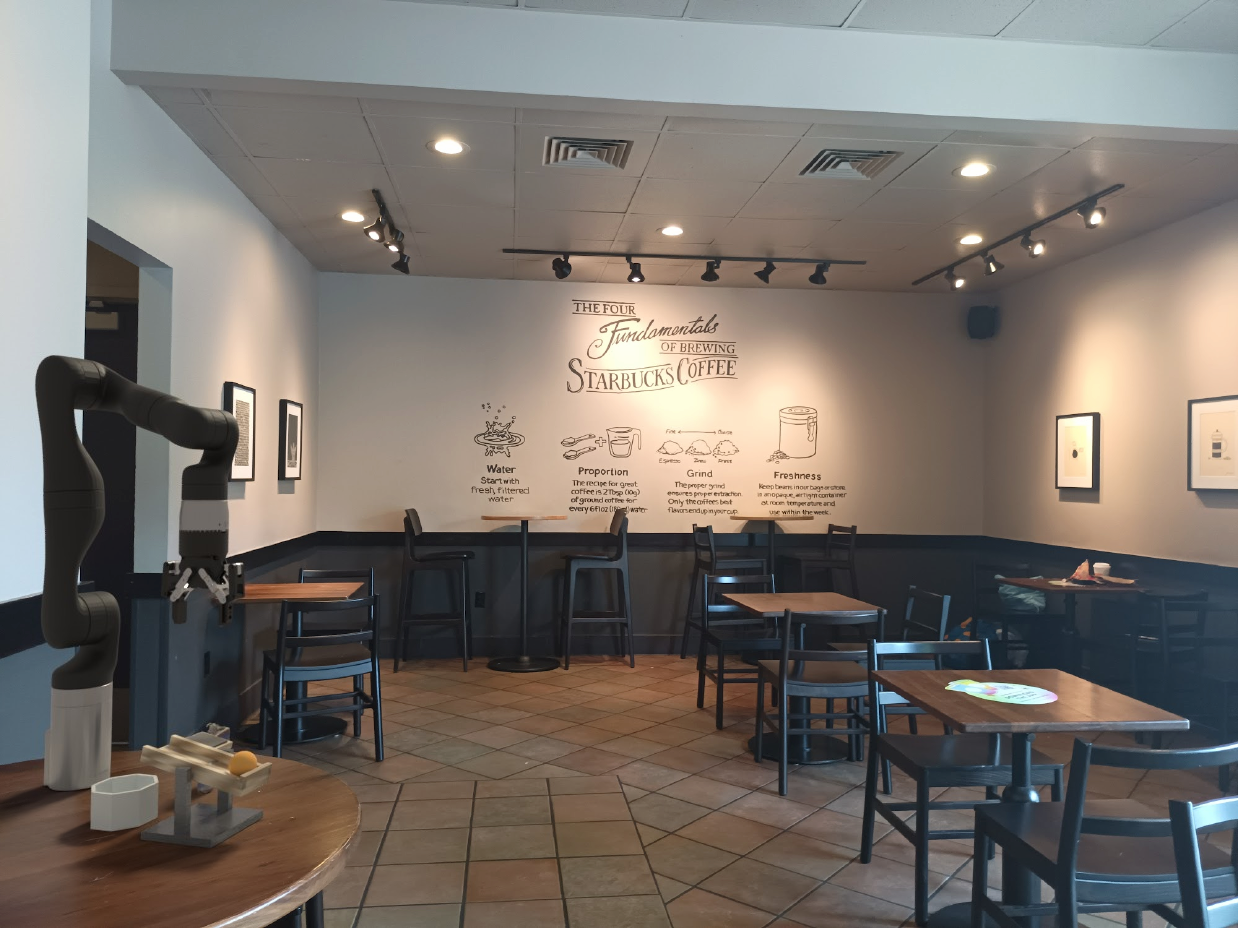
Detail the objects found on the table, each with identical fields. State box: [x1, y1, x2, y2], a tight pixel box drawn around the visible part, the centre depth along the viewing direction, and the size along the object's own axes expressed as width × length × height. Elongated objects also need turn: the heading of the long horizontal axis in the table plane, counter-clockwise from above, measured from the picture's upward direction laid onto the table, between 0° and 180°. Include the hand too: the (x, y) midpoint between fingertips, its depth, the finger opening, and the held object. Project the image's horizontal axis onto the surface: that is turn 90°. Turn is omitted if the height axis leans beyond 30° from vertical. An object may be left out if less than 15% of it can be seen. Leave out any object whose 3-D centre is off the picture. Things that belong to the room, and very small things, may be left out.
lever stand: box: [140, 748, 264, 849], centre depth 132 cm, size 12×12×11 cm
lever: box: [139, 731, 273, 798], centre depth 135 cm, size 18×14×3 cm
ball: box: [229, 750, 258, 777], centre depth 131 cm, size 4×4×4 cm
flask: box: [196, 722, 231, 795], centre depth 151 cm, size 9×3×11 cm, turn 2°
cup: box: [89, 773, 160, 832], centre depth 135 cm, size 9×9×6 cm
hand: (202, 624), depth 143 cm, fingers open, 8 cm apart
